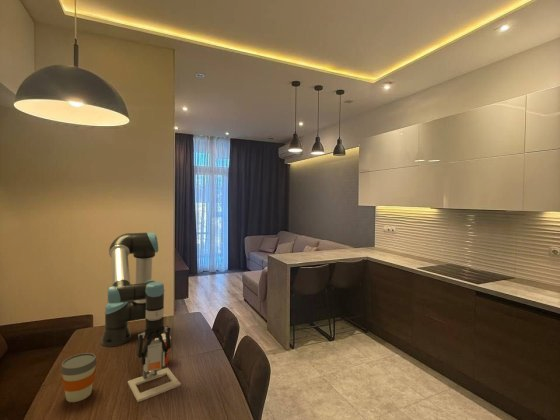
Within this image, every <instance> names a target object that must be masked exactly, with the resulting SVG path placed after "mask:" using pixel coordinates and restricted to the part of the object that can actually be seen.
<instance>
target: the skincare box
mask: <svg viewBox="0 0 560 420" xmlns="http://www.w3.org/2000/svg"><path fill="white" fill-rule="evenodd" d="M146 356H147V373H148V371H153V370H157V371H159V370H162V366H161V359H162V342H161V341H160V340H155V339H153V340H152V342H151V343H150V345H148V351H147V354H146Z"/></svg>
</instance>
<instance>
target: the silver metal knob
mask: <svg viewBox="0 0 560 420" xmlns="http://www.w3.org/2000/svg"><path fill="white" fill-rule="evenodd" d="M147 374H148V375H149V376H153V375H154V370H153V371H148V372H147Z"/></svg>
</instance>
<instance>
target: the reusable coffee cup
mask: <svg viewBox="0 0 560 420" xmlns="http://www.w3.org/2000/svg"><path fill="white" fill-rule="evenodd" d="M96 365H97V356H96V354H94V353H90V352H83V353H77V354H75V355H71V356H70V357H67V358H66V359H64V360H63V361H62V362H61V366H60V367H61V368H60V374H61V383H62V389H63V391H64V393H65V394H64V395H65V401H67V402H68V403H76V402H80V401H83V400H85V399H87V398H89V396H91V394H92V391H93V384H94V382H95V378H96V372H97V371H96V370H97V369H96Z"/></svg>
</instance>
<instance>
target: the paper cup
mask: <svg viewBox="0 0 560 420" xmlns="http://www.w3.org/2000/svg"><path fill="white" fill-rule="evenodd" d="M161 335H162V337H163V340H164V343H165V345H166V335H165V333H162V334H161ZM171 339H172V337H171V336H170V340H171ZM154 340H159V338H155V339H154ZM166 346H167V345H166ZM170 349H171V348H170ZM170 349H168V351H167V357H166V358H165V366H167V365H168V364H169V363H170V362H169V360H170ZM162 350H163V348H162ZM161 367H163V366H162V365H161Z"/></svg>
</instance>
